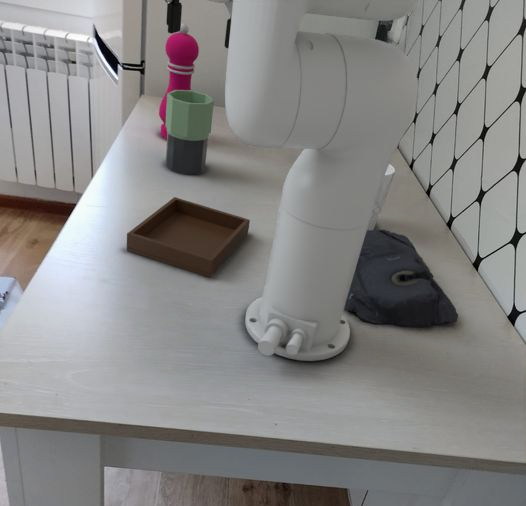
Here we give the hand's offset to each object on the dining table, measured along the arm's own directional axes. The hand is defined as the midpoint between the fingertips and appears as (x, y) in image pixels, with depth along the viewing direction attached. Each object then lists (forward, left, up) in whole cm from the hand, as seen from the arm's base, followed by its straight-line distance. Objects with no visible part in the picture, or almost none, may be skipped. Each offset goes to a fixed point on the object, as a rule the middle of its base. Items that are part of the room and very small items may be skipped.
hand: (201, 39), depth 92 cm
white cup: (-4, -31, -21) cm, 38 cm away
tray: (-26, -12, -21) cm, 35 cm away
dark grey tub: (-1, +1, -21) cm, 21 cm away
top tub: (-1, +1, -15) cm, 15 cm away
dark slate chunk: (-20, -39, -21) cm, 49 cm away
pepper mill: (+12, +9, -21) cm, 26 cm away
